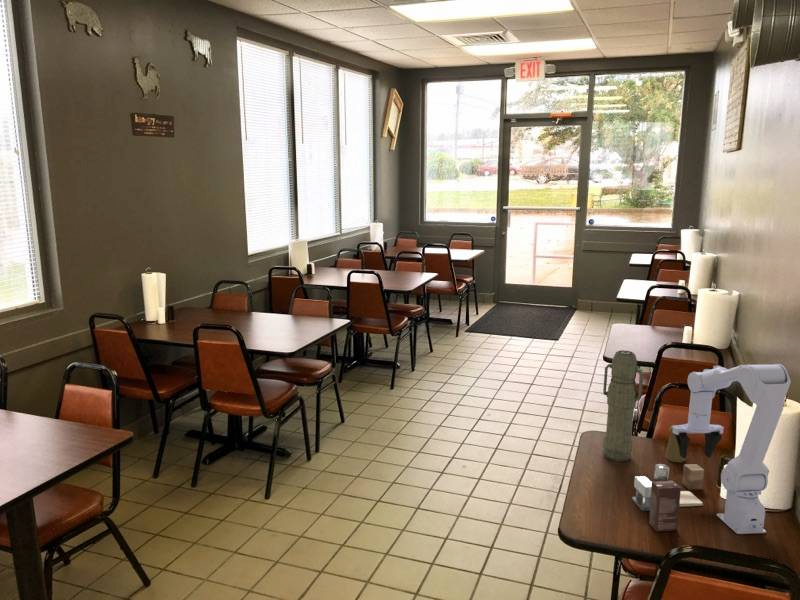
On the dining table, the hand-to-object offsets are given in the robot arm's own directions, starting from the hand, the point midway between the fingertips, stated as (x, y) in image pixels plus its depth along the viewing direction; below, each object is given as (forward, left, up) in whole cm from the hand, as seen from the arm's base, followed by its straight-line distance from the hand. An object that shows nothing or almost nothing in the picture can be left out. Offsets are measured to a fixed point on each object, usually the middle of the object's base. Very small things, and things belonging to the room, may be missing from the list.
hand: (695, 456), depth 188 cm
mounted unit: (-10, +20, -9) cm, 24 cm away
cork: (+19, -5, -10) cm, 22 cm away
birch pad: (-8, +7, -9) cm, 14 cm away
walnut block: (0, 0, -9) cm, 9 cm away
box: (-21, +20, -10) cm, 31 cm away
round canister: (+5, +7, -9) cm, 13 cm away
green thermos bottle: (+22, +13, -10) cm, 28 cm away
